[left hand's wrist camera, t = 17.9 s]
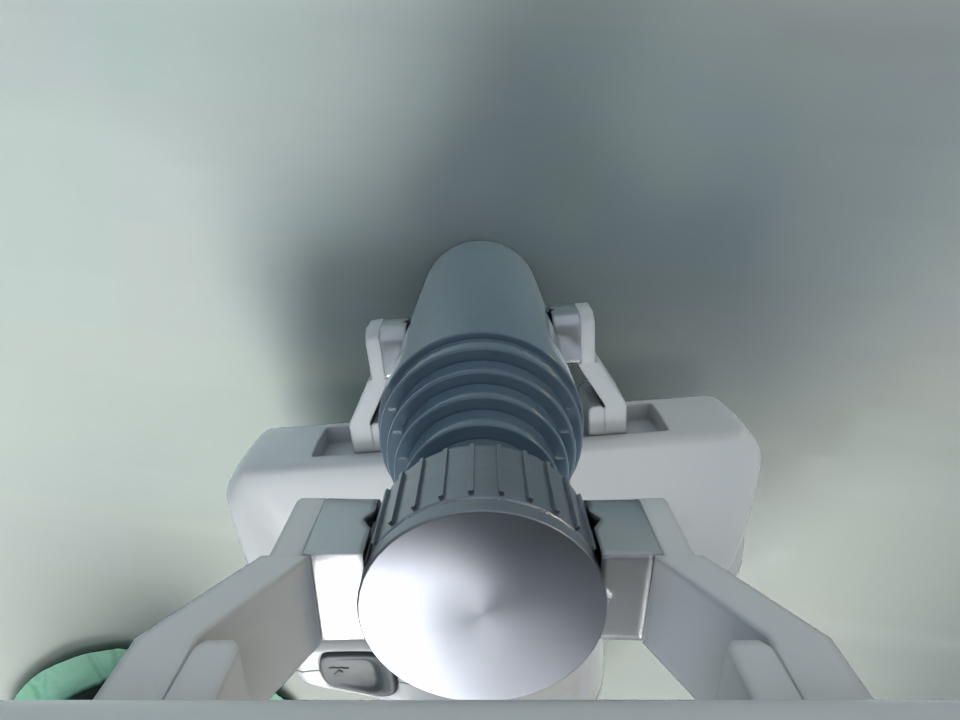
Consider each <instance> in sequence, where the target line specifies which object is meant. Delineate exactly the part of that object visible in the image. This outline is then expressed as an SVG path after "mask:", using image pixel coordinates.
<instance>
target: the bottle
mask: <svg viewBox="0 0 960 720" xmlns="http://www.w3.org/2000/svg"><path fill="white" fill-rule="evenodd" d="M378 427H379V440H380V450H381V454H382V458H383V461H384V464H385V466H386V469H387V471H388V473H389V475H390V476H391V478H392V481H393V483H395V482H396V481H397V480H398V478H399V474H400V473H401V472H402V471H403V472H404V473H405V472H406V471H408V470H409V469H410V468H411V467H413V466H414V465H415V464H416V463H417V462H419V459H421V458H422V457H424V459H425V458H427V457H430V456H432V455H434V454H436V453H439V452H442V451H443V449H445V448H448V449H451V448H453V447H458V446H469V444H472V443H474V445H497V444H501V446H503V447H508V448H512V449H515V450H519V451H522V450H525V451H527V454H530V455H533V456H534V457H537V458H539V459H540V460H542V461H543V462H545V461H548V462H550V465H551V467H552V468H554V469H555V470H556V471H557V472H559V473H560V474H561V475H562V476H563V477H564V476H565V475H566V476H567V477H568V478H569V482H570V480H571V477H572V475H573V473H574V471H575V469H576V467H577V465H578V462H579V459H580V456H581V451H582V446H583V431H584V414H583V407H582V403H581V399H580V395H579V393H578V390H577V387H576V385H575V382H574V380H573V377H572V374H571V372H570V369H569V367H568V364H567V361H566V359H565V356H564V353H563V351H562V348H561V346H560V343H559V340H558V338H557V335H556V333H555V330H554V327H553V325H552V322H551V319H550V317H549V314H548V312H547V309H546V306H545V304H544V301H543V299H542V296H541V293H540V291H539V288H538V285H537V283H536V280H535V278H534V275H533V273H532V271H531V269H530V267H529V266H528V264H527V263H526V262H525V261H524V259H523V258H522V257H521V256H520V255H519V254H517V253H516V252H515V251H513V250H512V249H510V248H508V247H506V246H504V245H502V244H499V243H496V242H492V241H483V240H481V241H470V242H465V243H462V244H459V245H457V246H455V247H453V248H451V249H449V250H448V251H446V252H445V253H444V254H443V255H441V256H440V257H439V258H438V259H437V261H436V262H435V263H434V264H433V266H432V267H431V269H430V271H429V273H428V275H427V278H426V280H425V283H424V286H423V288H422V291H421V294H420V297H419V299H418V302H417V305H416V307H415V310H414V313H413V315H412V318H411V321H410V324H409V326H408V329H407V332H406V334H405V337H404V340H403V343H402V345H401V348H400V351H399V353H398V356H397V359H396V361H395V364H394V367H393V370H392V372H391V375H390V378H389V380H388V383H387V386H386V388H385V391H384V394H383V397H382V400H381V404H380V409H379V419H378Z"/></svg>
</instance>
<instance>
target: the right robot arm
mask: <svg viewBox="0 0 960 720" xmlns="http://www.w3.org/2000/svg"><path fill="white" fill-rule="evenodd" d="M548 314H549V317H550V319H551V322H552V325H553V327H554V330H555V333H556V335H557V338H558V340H559V343H560V346H561V348H562V351H563V353H564V356H565V359H566V361H567V363H577V364H578V366H579V367H580V369H581V370H582V372H583V373H584V375H585V376H586V378H587V379H588V381H589V382H590V383H586V384H582V385H580V386H579V387H580V399H581V403H582V407H583V414H584V431H583V446H582V451H581V456H580V459H579V462H578V465H577V467H576V469H575V471H574V473H573V475H572V477H571V480H570V485H571V486H572V488H573V489H574V490H575V492H576V494H579V493H580V494H581V496H582V499H583V500H622V499H640V498H664V499H665V500H666V501H667V502H668V504H669V506H670V508H671V510H672V512H673V514H674V516H675V518H676V520H677V521H678V523H679V525H680V527H681V529H682V531H683V533H684V535H685V537H686V539H687V541H688V542H689V544H690V546H691V548H692V550H693V552H694V554H695V555H697V556H705V557H706V558H708V559H709V560H711V561H712V562H714V563H716V564H717V565H719V566H720V567H722V568H723V569H725V570H726V571H728V572H729V573H731V574H733V575H734V576H736V575H737V574H738V572H739V570H740V567H741V564H742V555H743V546H744V532H745V528H746V525H747V522H748V519H749V515H750V511H751V508H752V504H753V500H754V496H755V491H756V487H757V482H758V477H759V472H760V465H761V451H760V448H759V445H758V443H757V441H756V439H755V438H754V436H753V435H752V434H751V432H750V431H749V430H748V428H747V427H746V426H745V425H744V423H743V422H742V421H741V420H740V419H739V418H738V417H737V416H736V415H735V414H734V413H733V412H732V411H731V410H729V409H728V408H727V407H726V406H725V405H724V404H723V403H722V402H720V401H719V400H718V399H716V398H714V397H712V396H693V397H680V398H667V399H654V400H641V401H628V402H625V400H624V398H623V397H622V395H621V393H620V391H619V389H618V387H617V385H616V384H615V382H614V380H613V379H612V377H611V375H610V374H609V372H608V371H607V369H606V368H605V366H604V365H603V363H602V362H601V360H600V359H599V357H598V356H597V354H596V353H595V321H594V315H593V310H592V309H591V307H590V306H589V304H588V303H587V302H585V303H573V304H562V305H551V306H548ZM410 321H411V318H409V317H408V318H393V319H377V320H371V321H370V323H369V325H368V326H367V328H366V334H365V340H366V348H367V354H368V360H369V366H370V372H371V375H370V377H369V379H368V381H367V384H366V386H365V388H364V391H363V393H362V395H361V398H360V400H359V402H358V405H357V407H356V409H355V412H354V414H353V416H352V419H351V421H350V423H337V424H324V425H311V426H298V427H282V428H273V429H269V430H267V431H265V432H264V433H263V434H262V435H261V436H260V437H259V438H258V439H257V441H256V442H255V443H254V444H253V445H252V447H251V448H250V449H249V450H248V451H247V453H246V454H245V455H244V457H243V458H242V460H241V461H240V463H239V464H238V466H237V468H236V469H235V471H234V473H233V475H232V477H231V479H230V482H229V485H228V489H227V499H228V506H229V510H230V514H231V517H232V521H233V524H234V527H235V530H236V533H237V536H238V539H239V542H240V544H241V547H242V550H243V553H244V555H245V558H246V560H247V563H248V564H249V563H251V562H252V561H254V560H255V559H257V558H258V557H260V556H268V555H270V553H271V551H272V549H273V547H274V545H275V543H276V541H277V539H278V537H279V535H280V534H281V532H282V530H283V528H284V526H285V524H286V522H287V520H288V518H289V516H290V514H291V512H292V510H293V508H294V506H295V504H296V502H297V501H298V500H300V499H301V498H326V499H328V498H341V499H380V501H381V503H382V500H383V496H384V492H385V490H386V489H389V490H390V489H391V487H392V486H393V484H394V483H393V481H392V478H391V476H390V475H389V473H388V471H387V469H386V466H385V464H384V461H383V458H382V454H381V450H380V440H379V427H378V419H379V409H380V404H381V401H380V398H381V396H382V394H383V392H384V389H385V387H386V385H387V382H388V380H389V378H390V375H391V372H392V370H393V367H394V364H395V361H396V359H397V356H398V353H399V351H400V348H401V345H402V343H403V340H404V337H405V334H406V332H407V329H408V326H409V324H410ZM321 642H322V643H321V644H320V645H319V647H318V648H317V649H316V650H315V651H314V652H313V653H312V654H311V655H310V656H309V657H308V658H307V659H306V661H305V662H304V663H303V664H302V665H301V666H300V667H299V668H298V669H297V670H296V673H297V675H298V676H299V678H300V679H301V680H303V681H304V682H306V683H308V684H311V685H314V686H318V687H323V688H329V689H335V690H341V691H346V692H352V693H357V694H362V695H366V696H371V697H375V698H379V699H383V700H453V699H449V698H445V697H440V696H437V695H434V694H431V693H428V692H425V691H423V690H420V689H418V688H416V687H414V686H412V685H410V684H408V683H407V682H405V681H403V680H401V679H400V678H398V677H397V676H396V675H394V674H393V673H392V672H390V671H389V670H388V669H387V668H386V667H385V666H384V665H383V664H382V663H381V662H380V661H379V660H378V659H377V658H376V656H375V655H374V654H373V652H372V651H371V650H370V648H369V646H368V644H367V643H366V641H365V639H348V640H321ZM603 677H604V639H599V641H598V643H597V645H596V646H595V648H594V650H593V651H592V652H591V654H590V655H589V656H588V658H587V659H586V660H585V661H584V662H583V663H582V664H581V665H580V666H579V667H578V668H577V669H576V670H575V671H573V672H572V673H571V674H569V675H568V676H567V677H565V678H564V679H562V680H561V681H559V682H557V683H556V684H554V685H552V686H550V687H548V688H546V689H544V690H541V691H539V692H536V693H533V694H530V695H527V696H523V697H519V698H515V699H510V700H599V697H600V694H601V690H602V684H603Z"/></svg>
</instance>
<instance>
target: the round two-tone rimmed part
mask: <svg viewBox="0 0 960 720" xmlns="http://www.w3.org/2000/svg"><path fill="white" fill-rule="evenodd" d="M126 651H127V650H126V649H112V650H105V651H98V652H91V653H87V654H83V655H80V656H77V657H74V658H71V659H69V660H66V661H64V662H61V663H58V664H56V665H54V666H52V667H50V668H48V669H46V670H43V671H41V672H40V673H39V674H37V675H36V676H35V677H33V678H32V679H31V680H30V681H29V682H28V683H27V684H26V685H25V686H24V687H23V688H22V689H21V690H20V691H19V692H18V694H17V695H16V696H15V698H14V699H13V700H93V698H94V697H95V696H96V694H97V693H98V691H99V690H100V688H101V687H102V685H103V684H104V683H105V681H106V680H107V678H108V677H109V675H110V674H111V672H112V671H113V670H114V668H115V667H116V665H117V664H118V662H119V661H120V659H121V658H122V657H123V655H124V654H125V652H126ZM269 700H284V699H283V698H281V697H280V696H278V695H277V694H276V693H275V694H274V695H273V696H272V697H271V698H270V699H269Z"/></svg>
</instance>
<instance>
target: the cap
mask: <svg viewBox="0 0 960 720" xmlns="http://www.w3.org/2000/svg"><path fill="white" fill-rule="evenodd" d="M593 534H594V531H593V529H591V527H590V524H589V520H588V517H587V513H586V509H585V506H584V502H583V499H582V496H581V494H580V493H579V494H576V492H575V490H574V489H573V488H572V486H571V485H570V482H569V478H568V477H567V476H566V475H565V476H564V477H563V476H562V475H561V474H560V473H559V472H557V471H556V470H555V469H554V468H552V467H551V465H550V462H548V461H545V462H543V461H542V460H540V459H539V458H537V457H534V456H533V455H530V454H527V451H525V450H522V451H519V450H515V449H512V448H508V447H503V446H501V444H497V445H474V443H472V444H469V446H458V447H453V448H451V449H448V448H445V449H443V451H442V452H439V453H436V454H434V455H432V456H430V457H427V458H425V459H424V457H422V458H421V459H419V462H417V463H416V464H415V465H414V466H413V467H411V468H410V469H409V470H408V471H406V472H405V473H404V472H403V471H402V472H401V473H400V474H399V478H398V480H397V481H396V482H395V483H394V484H393V486H392V487H391V489H390V490H389V489H386V490H385V492H384V496H383V500H382V504H381V507H380V509H379V511H378V515H377V519H376V521H375V522H373V523H372V526H371V541H370V545H369V548H368V552H367V555H366V559H365V568H364V571H363V574H362V577H361V581H360V585H359V589H358V596H357V616H358V621H359V625H360V629H361V631H362V634H363V637H364V639H365V641H366V643H367V644H368V646H369V648H370V650H371V651H372V652H373V654H374V655H375V656H376V658H377V659H378V660H379V661H380V662H381V663H382V664H383V665H384V666H385V667H386V668H387V669H388V670H389V671H390V672H392V673H393V674H394V675H396V676H397V677H398V678H400V679H401V680H403V681H405V682H407V683H408V684H410V685H412V686H414V687H416V688H418V689H420V690H423V691H425V692H428V693H431V694H434V695H437V696H440V697H445V698H449V699H453V700H510V699H515V698H519V697H523V696H527V695H530V694H533V693H536V692H539V691H541V690H544V689H546V688H548V687H550V686H552V685H554V684H556V683H557V682H559V681H561V680H562V679H564V678H565V677H567V676H568V675H569V674H571V673H572V672H573V671H575V670H576V669H577V668H578V667H579V666H580V665H581V664H582V663H583V662H584V661H585V660H586V659H587V658H588V656H589V655H590V654H591V652H592V651H593V650H594V648H595V646H596V645H597V643H598V641H599V639H600V637H601V634H602V632H603V629H604V626H605V622H606V616H607V594H606V588H605V584H604V580H603V576H602V573H601V571H600V566H599V563H598V559H597V555H596V552H595V549H596V545H595V541H594V538H593Z"/></svg>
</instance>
